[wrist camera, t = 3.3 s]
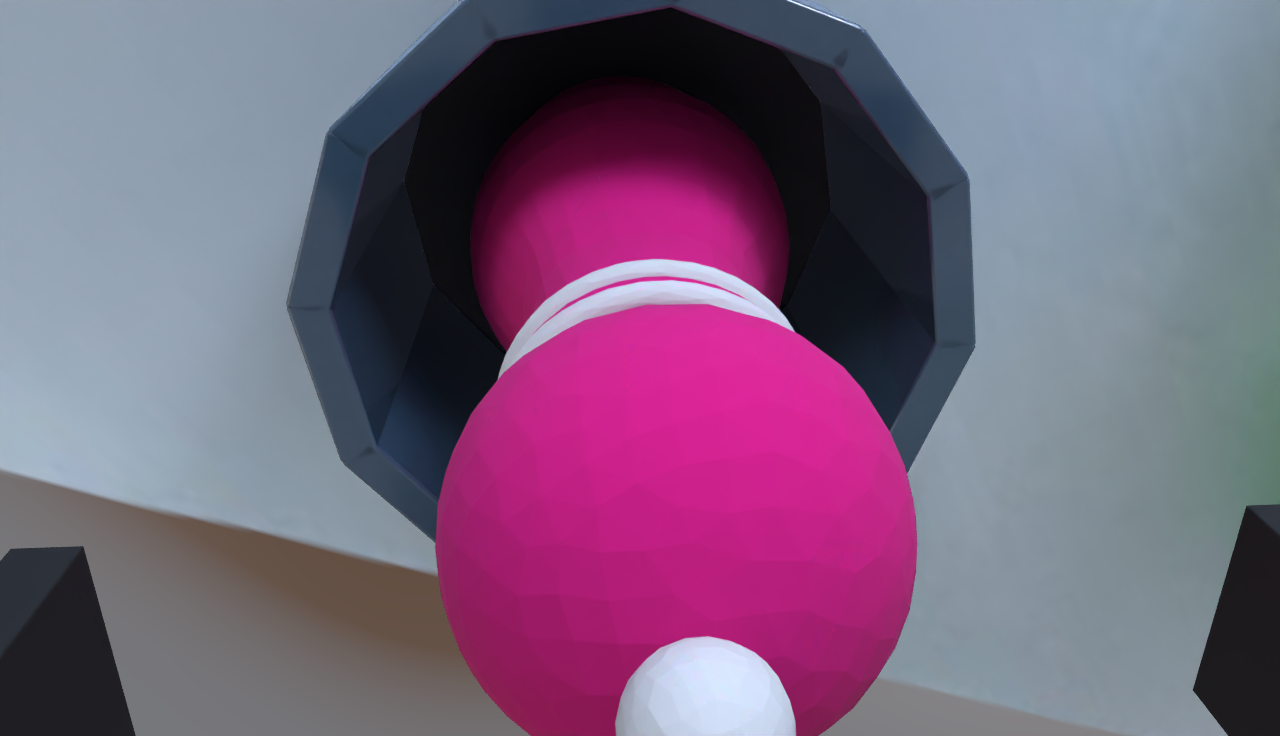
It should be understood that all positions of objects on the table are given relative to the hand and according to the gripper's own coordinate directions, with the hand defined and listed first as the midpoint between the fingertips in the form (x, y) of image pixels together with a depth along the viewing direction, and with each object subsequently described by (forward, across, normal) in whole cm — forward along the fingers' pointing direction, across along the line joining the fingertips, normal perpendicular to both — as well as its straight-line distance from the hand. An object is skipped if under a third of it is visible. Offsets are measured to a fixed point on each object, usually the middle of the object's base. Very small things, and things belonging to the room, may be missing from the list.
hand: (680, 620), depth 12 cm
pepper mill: (+17, 0, 0) cm, 17 cm away
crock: (+17, 0, 0) cm, 17 cm away
